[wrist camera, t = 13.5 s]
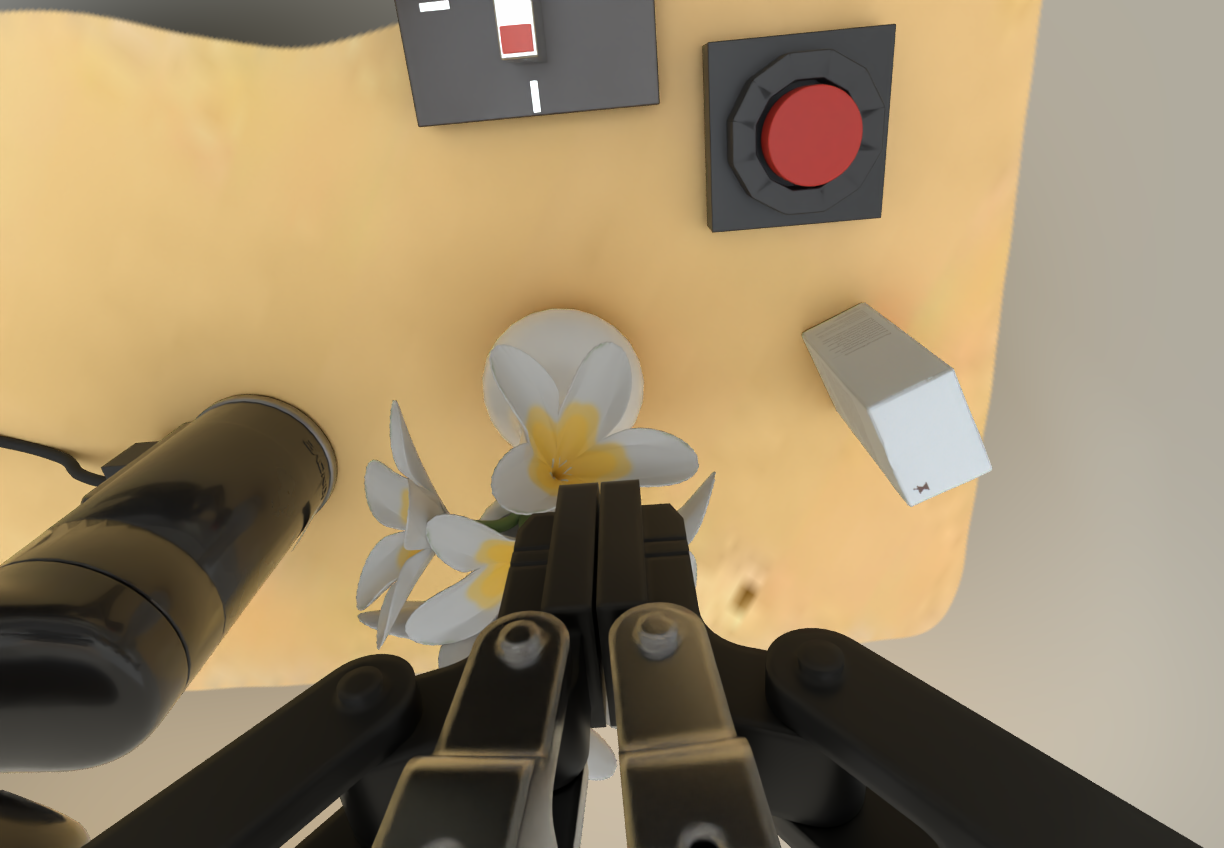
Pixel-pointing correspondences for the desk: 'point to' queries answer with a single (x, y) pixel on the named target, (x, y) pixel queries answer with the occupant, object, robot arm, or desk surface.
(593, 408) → the flower vase
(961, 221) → the desk surface
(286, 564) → the desk surface
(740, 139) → the button box
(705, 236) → the desk surface
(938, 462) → the cosmetic box
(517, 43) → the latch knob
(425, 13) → the rotary lever switch
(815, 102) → the button
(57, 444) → the desk surface
